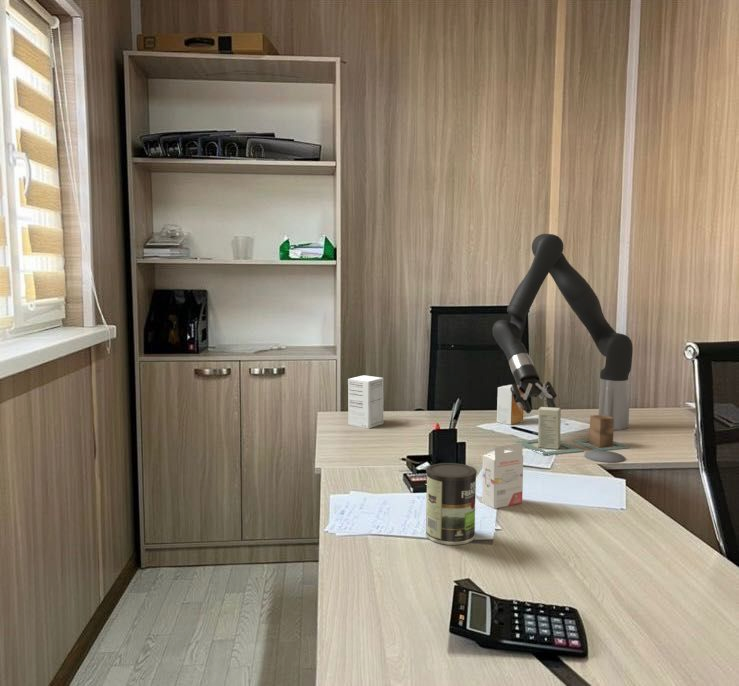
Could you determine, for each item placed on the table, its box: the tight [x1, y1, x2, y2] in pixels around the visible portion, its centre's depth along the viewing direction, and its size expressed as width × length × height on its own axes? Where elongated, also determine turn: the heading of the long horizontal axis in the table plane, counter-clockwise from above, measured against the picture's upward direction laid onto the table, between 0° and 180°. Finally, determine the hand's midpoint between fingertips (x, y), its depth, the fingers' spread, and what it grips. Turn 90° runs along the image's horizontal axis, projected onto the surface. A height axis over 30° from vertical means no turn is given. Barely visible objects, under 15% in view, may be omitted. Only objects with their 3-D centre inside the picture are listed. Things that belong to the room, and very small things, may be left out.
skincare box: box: [537, 406, 562, 450], centre depth 208 cm, size 6×4×12 cm
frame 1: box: [515, 438, 585, 456], centre depth 209 cm, size 14×16×1 cm
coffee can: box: [425, 462, 477, 546], centre depth 139 cm, size 10×10×14 cm
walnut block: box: [588, 414, 615, 448], centre depth 211 cm, size 5×5×9 cm
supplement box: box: [347, 375, 384, 430], centre depth 237 cm, size 10×9×17 cm
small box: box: [496, 384, 525, 426], centre depth 242 cm, size 8×6×13 cm
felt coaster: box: [584, 450, 625, 464], centre depth 198 cm, size 11×11×1 cm
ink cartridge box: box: [481, 442, 524, 509], centre depth 158 cm, size 9×5×15 cm, turn 118°
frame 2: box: [572, 438, 631, 451], centre depth 211 cm, size 12×12×1 cm
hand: (541, 411), depth 212 cm, fingers open, 8 cm apart
